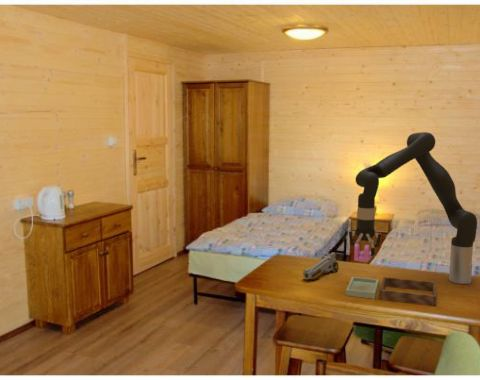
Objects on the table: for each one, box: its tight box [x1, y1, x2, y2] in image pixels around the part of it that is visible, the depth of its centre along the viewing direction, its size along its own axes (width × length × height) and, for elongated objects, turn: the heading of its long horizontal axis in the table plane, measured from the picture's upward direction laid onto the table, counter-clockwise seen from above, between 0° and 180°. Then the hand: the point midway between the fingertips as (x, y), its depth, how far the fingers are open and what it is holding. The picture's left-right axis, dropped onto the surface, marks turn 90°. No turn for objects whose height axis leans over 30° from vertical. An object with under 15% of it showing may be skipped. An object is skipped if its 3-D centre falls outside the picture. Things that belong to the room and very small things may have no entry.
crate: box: [379, 276, 437, 307], centre depth 220 cm, size 22×19×4 cm
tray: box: [345, 276, 380, 300], centre depth 227 cm, size 12×19×2 cm, turn 160°
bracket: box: [353, 243, 374, 263], centre depth 224 cm, size 13×6×7 cm, turn 153°
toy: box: [302, 252, 340, 281], centre depth 246 cm, size 6×24×10 cm, turn 137°
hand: (364, 255), depth 225 cm, fingers closed on bracket, 6 cm apart
